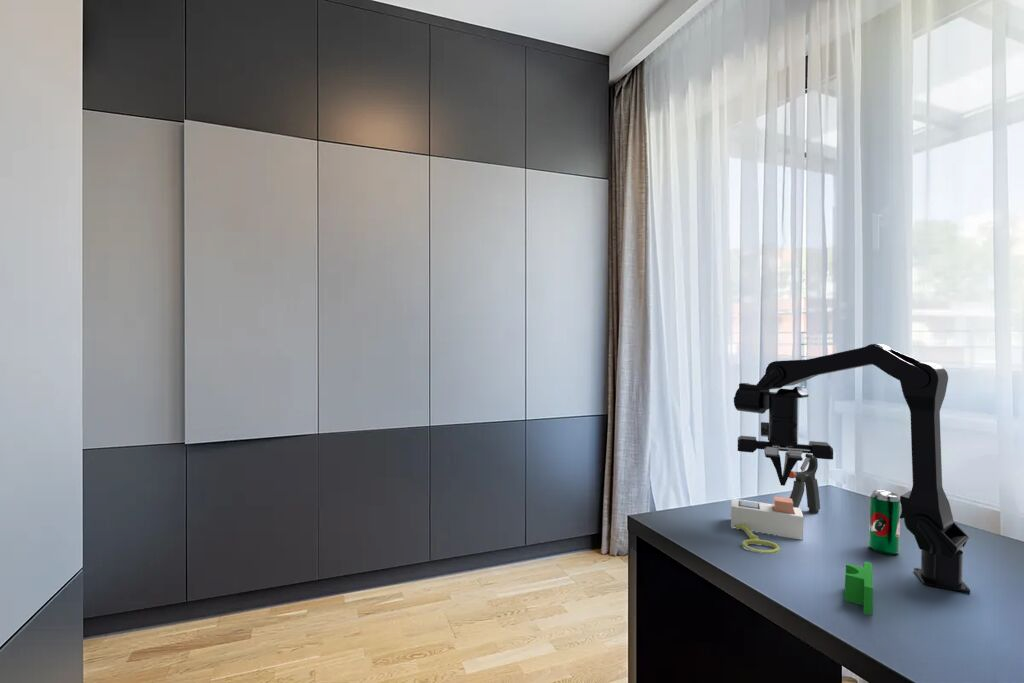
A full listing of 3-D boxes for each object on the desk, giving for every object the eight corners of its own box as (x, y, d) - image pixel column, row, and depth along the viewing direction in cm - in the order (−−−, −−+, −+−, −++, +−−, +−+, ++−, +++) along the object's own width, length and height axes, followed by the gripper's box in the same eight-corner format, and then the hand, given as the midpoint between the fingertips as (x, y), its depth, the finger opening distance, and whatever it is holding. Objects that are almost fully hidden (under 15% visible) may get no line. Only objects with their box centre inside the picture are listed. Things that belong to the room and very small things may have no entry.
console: (802, 539, 109) (803, 517, 109) (730, 528, 115) (731, 506, 115) (799, 529, 115) (800, 508, 115) (731, 519, 121) (731, 498, 121)
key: (743, 531, 115) (744, 522, 115) (784, 555, 103) (785, 544, 103) (716, 533, 113) (716, 524, 113) (754, 557, 101) (755, 547, 101)
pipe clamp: (845, 582, 91) (846, 557, 91) (870, 589, 89) (871, 563, 89) (843, 608, 82) (844, 580, 82) (872, 616, 80) (873, 587, 80)
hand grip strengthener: (781, 517, 123) (782, 456, 123) (811, 510, 129) (813, 451, 129) (790, 520, 121) (791, 458, 121) (820, 513, 127) (822, 453, 127)
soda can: (903, 557, 101) (905, 498, 101) (873, 553, 103) (875, 495, 103) (893, 547, 106) (895, 491, 106) (865, 543, 108) (866, 488, 108)
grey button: (757, 527, 114) (757, 507, 114) (740, 524, 116) (740, 505, 116) (756, 522, 118) (757, 502, 117) (740, 519, 119) (740, 500, 119)
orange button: (792, 523, 111) (793, 503, 111) (774, 521, 113) (775, 500, 113) (791, 518, 115) (791, 498, 115) (773, 516, 116) (774, 496, 116)
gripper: (825, 414, 117) (825, 481, 117) (737, 409, 125) (737, 472, 125) (834, 421, 107) (833, 494, 107) (737, 415, 115) (737, 483, 115)
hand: (782, 485), depth 114 cm, fingers closed
